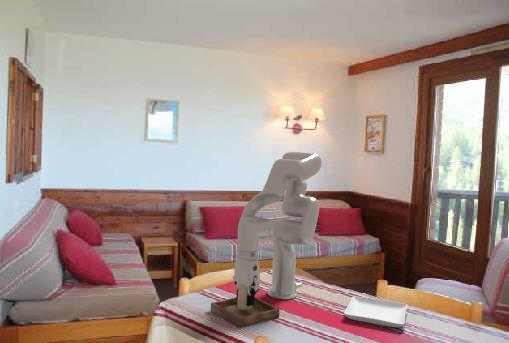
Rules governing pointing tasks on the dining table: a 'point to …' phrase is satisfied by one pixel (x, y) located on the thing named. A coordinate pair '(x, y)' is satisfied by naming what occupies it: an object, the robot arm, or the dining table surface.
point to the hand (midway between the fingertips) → (245, 302)
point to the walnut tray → (244, 312)
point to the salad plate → (376, 311)
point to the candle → (243, 297)
